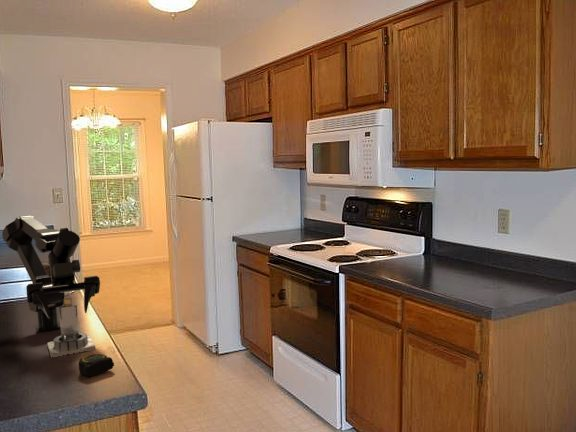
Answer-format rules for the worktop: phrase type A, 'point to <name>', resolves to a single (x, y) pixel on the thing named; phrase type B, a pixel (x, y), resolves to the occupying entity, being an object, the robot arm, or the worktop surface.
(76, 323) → the gold-capped glass bottle
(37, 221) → the robot arm
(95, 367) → the tape measure
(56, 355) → the socket flange
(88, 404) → the worktop surface
